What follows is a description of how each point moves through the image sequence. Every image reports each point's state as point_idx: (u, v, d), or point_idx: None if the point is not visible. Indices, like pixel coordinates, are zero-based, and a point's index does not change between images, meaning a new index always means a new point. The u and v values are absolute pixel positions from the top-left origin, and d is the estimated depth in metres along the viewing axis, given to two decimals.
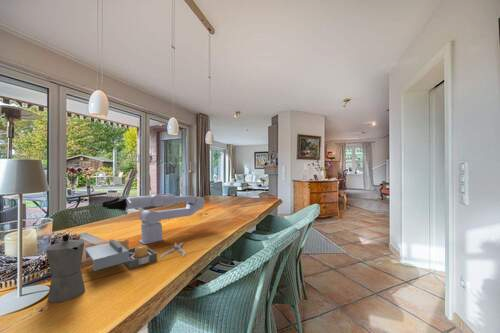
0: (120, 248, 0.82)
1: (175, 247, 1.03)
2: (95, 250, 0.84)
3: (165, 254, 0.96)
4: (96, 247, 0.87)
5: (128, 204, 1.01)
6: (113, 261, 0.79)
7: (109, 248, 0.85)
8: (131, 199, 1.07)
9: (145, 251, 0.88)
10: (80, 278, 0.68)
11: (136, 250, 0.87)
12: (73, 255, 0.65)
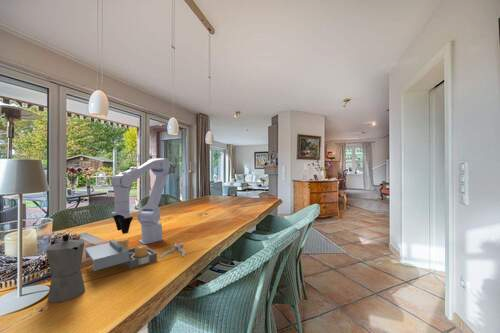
0: (120, 248, 0.82)
1: (175, 247, 1.03)
2: (95, 250, 0.84)
3: (165, 254, 0.96)
4: (96, 247, 0.87)
5: (126, 216, 0.94)
6: (113, 261, 0.79)
7: (109, 248, 0.85)
8: (118, 209, 0.97)
9: (145, 251, 0.88)
10: (80, 278, 0.68)
11: (136, 250, 0.87)
12: (73, 255, 0.65)
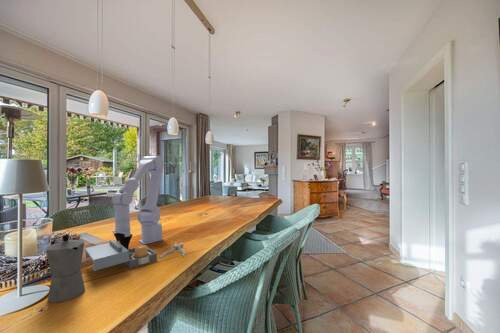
0: (120, 248, 0.82)
1: (175, 247, 1.03)
2: (95, 250, 0.84)
3: (165, 254, 0.96)
4: (96, 247, 0.87)
5: (127, 235, 0.94)
6: (113, 261, 0.79)
7: (109, 248, 0.85)
8: (119, 227, 0.97)
9: (145, 251, 0.88)
10: (80, 278, 0.68)
11: (136, 250, 0.87)
12: (73, 255, 0.65)
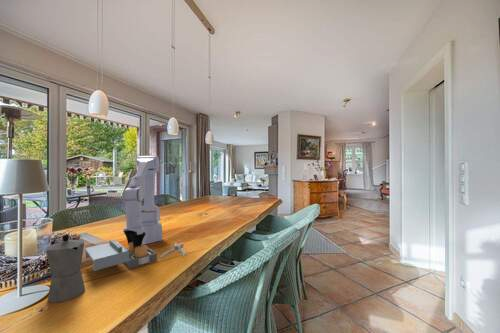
0: (120, 248, 0.82)
1: (175, 247, 1.03)
2: (95, 250, 0.84)
3: (165, 254, 0.97)
4: (96, 247, 0.87)
5: (139, 233, 0.89)
6: (113, 261, 0.79)
7: (109, 248, 0.85)
8: (130, 224, 0.92)
9: (145, 251, 0.88)
10: (80, 278, 0.68)
11: (136, 250, 0.87)
12: (73, 255, 0.65)
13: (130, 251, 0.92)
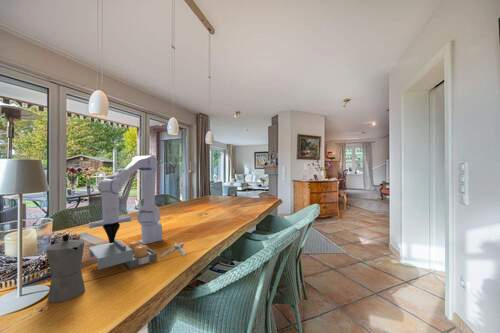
0: (124, 247, 0.83)
1: (175, 247, 1.03)
2: (99, 249, 0.85)
3: (165, 254, 0.97)
4: (100, 246, 0.87)
5: None
6: (117, 260, 0.80)
7: (113, 248, 0.86)
8: (118, 216, 0.90)
9: (145, 251, 0.88)
10: (80, 278, 0.68)
11: (136, 250, 0.87)
12: (73, 255, 0.65)
13: None
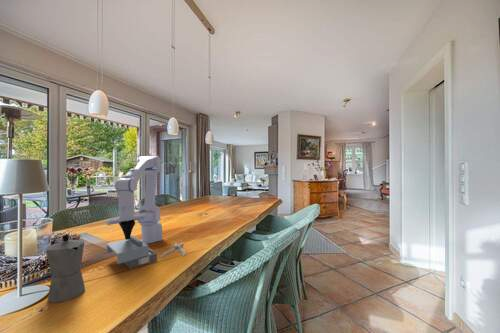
0: (140, 243, 0.87)
1: (175, 247, 1.03)
2: (116, 245, 0.89)
3: (165, 254, 0.97)
4: (117, 242, 0.92)
5: None
6: (135, 255, 0.84)
7: (129, 244, 0.90)
8: (133, 213, 0.94)
9: None
10: (80, 278, 0.68)
11: None
12: (73, 255, 0.65)
13: None
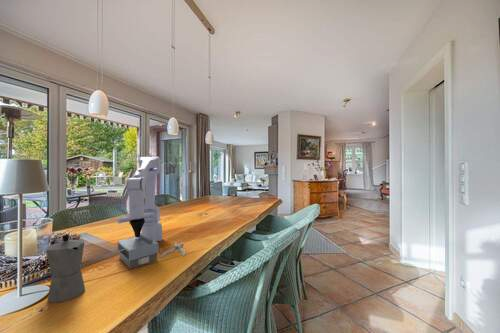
0: (151, 240, 0.89)
1: (175, 247, 1.03)
2: (127, 242, 0.91)
3: (165, 254, 0.97)
4: (127, 240, 0.94)
5: None
6: (145, 252, 0.87)
7: (140, 241, 0.92)
8: (143, 212, 0.97)
9: None
10: (80, 278, 0.68)
11: None
12: (73, 255, 0.65)
13: None
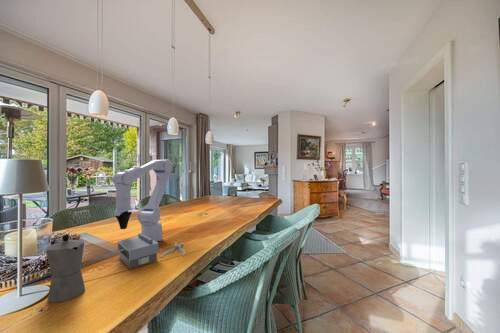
0: (151, 240, 0.89)
1: (175, 246, 1.03)
2: (127, 242, 0.91)
3: (165, 253, 0.97)
4: (127, 240, 0.94)
5: None
6: (145, 252, 0.87)
7: (140, 241, 0.92)
8: None
9: None
10: (80, 278, 0.68)
11: None
12: (73, 255, 0.65)
13: None
